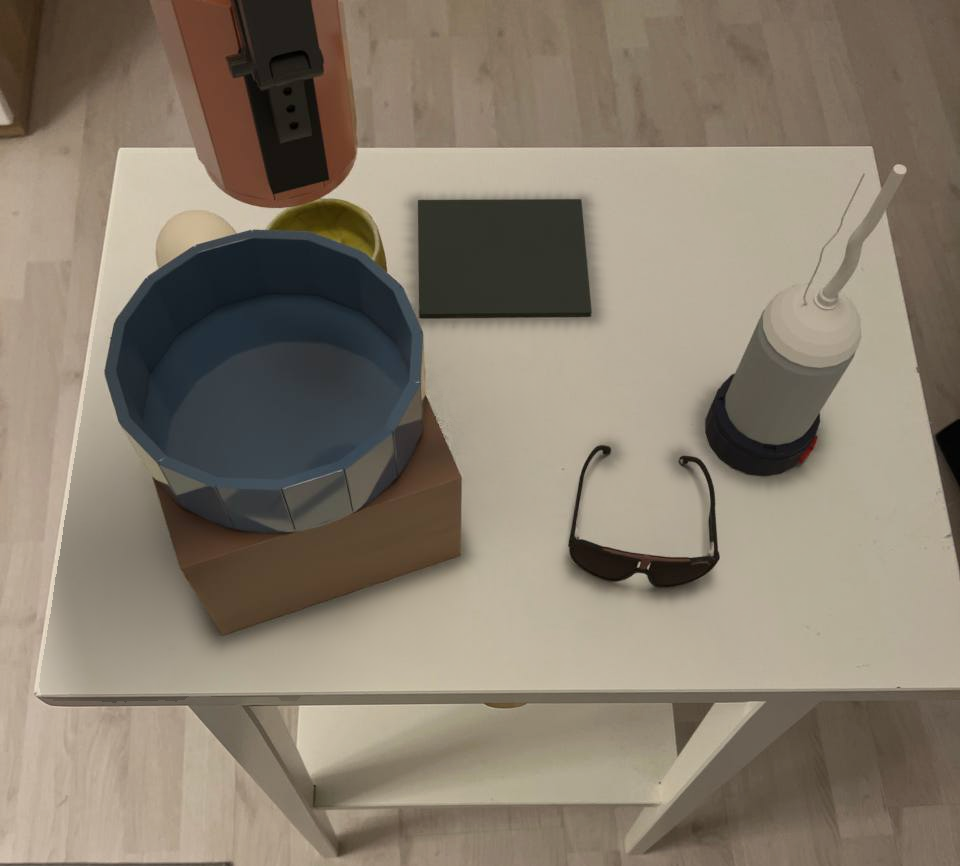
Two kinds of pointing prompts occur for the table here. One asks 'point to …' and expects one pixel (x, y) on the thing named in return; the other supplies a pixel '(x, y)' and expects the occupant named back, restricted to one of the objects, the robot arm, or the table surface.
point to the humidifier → (792, 364)
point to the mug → (335, 225)
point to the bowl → (270, 379)
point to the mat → (502, 258)
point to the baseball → (189, 233)
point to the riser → (324, 544)
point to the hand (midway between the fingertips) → (273, 117)
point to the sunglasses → (624, 564)
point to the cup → (225, 104)
